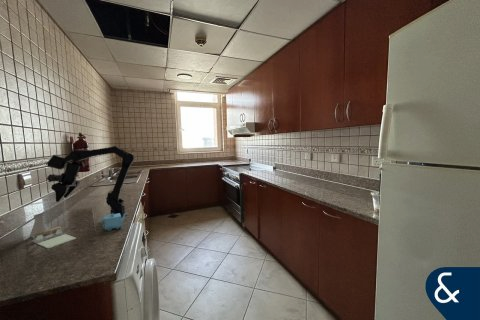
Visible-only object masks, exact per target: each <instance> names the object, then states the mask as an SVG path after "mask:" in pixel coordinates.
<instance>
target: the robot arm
mask: <svg viewBox="0 0 480 320" xmlns="http://www.w3.org/2000/svg"><path fill="white" fill-rule="evenodd" d="M109 154H115V155H116V156H118V157H120V158H121V168H120V170H119V173H118V176H117V178H116V181H115V185H114V187H113V189H112V190H109V191H108V192H107V196H106V198H105V200H106V203H105V204H107V205H108V206H109V207H110V211H109V212H110V214H118V213H120V215H121V218H122V217H123V215H124V214H125V213H126V210H125V209H126V208H125V206H126V205H124V204H125V200H123V199H122V198H121V196H122V195H121V193H122V188H123V185H124V183H125V179H126V178H127V175H128V172H129V170H130V168H131V166H132V165H133V163H134V161H135V159H136V155H135V154H134V153H132V152H128V151H126V150H124V149H123V148H120V147H119V146H118V145H117V146H116V145H113V146H110V147H103V148H97V149H89V150H87V149H85V150H84V149H83V150H82V149H79V150H77V149H76V150H72V151H71V152H70V153H69V154H68V155H67V156H65V157H63V156H61V155H60V156H59V155H57V154H54V155H53V154H52V157H51V158H50V159H49V160H48V162H47V164H46V166H47V167H49V168H52V169H55V170H59V171H61V170H64V172H63V173H61V174H54V173H53V174H49V175H47V178H46V180H47V182H48V183H52V182H55V183H53V184H52V185H51V187H50V189H51V190H52V191H54V192H55V202H56V203H59V202H60V201H61V200H62V199H63V198H65V199H66V198H68V197H69V195H70V194H71V193H73V191H74V190H75V189H76V188H77V187H78V186H79V185H80V181H79V180H78V179H77V178H78V177H79V174H78V173H79V172H80V169H81V167H82V168H85V167H86V164H85V163H84V161H83V160H86V159H89V158H92V157H98V156H103V155H109ZM78 161H79V162H78ZM127 214H128V213H127ZM127 214H126V215H125V216H127Z"/></svg>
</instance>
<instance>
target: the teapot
mask: <svg viewBox="0 0 480 320" xmlns="http://www.w3.org/2000/svg"><path fill="white" fill-rule="evenodd" d="M126 214H128V212H125V214H124V215H123V217H122V218H121V215H120V213H118V214H111V213H110V214H109V215H104V216H103V218H101V220H100V223H101V224H102V228H104V230H105V231H107V232H111V231H112V229H116V230H118V229H120V228H121V227H123V224H122V223H123V222H124V220H125V219H126V216H127V215H126Z"/></svg>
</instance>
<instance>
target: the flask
mask: <svg viewBox="0 0 480 320" xmlns="http://www.w3.org/2000/svg"><path fill="white" fill-rule="evenodd" d="M33 217H34V222H33V226H32V228H31V231H30V234H29V238H32V239H33V237H34V234H36V233H39V232H42V231H46V230H49V229H50V228H49V227H48V225H47V224H46V222H45V221H44V218H43V217H44V214H43V213H37V214H34V215H33ZM48 235H50V233H48V234H44V235H42V236H43V237H45V236H48Z"/></svg>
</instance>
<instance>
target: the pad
mask: <svg viewBox="0 0 480 320" xmlns="http://www.w3.org/2000/svg"><path fill="white" fill-rule="evenodd" d="M76 239H77V237H74V236H72V235H69V234H66V233H64V234H63V235H60V236H57V237H54V238H51V239H48V240H45V241H41V242H38V243H36V244H37V245H39V246H41V247H43V248H45V249H48V250H49V249H51V248H54V247H57V246H60V245H63V244H66V243H68V242H70V241H74V240H76Z"/></svg>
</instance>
